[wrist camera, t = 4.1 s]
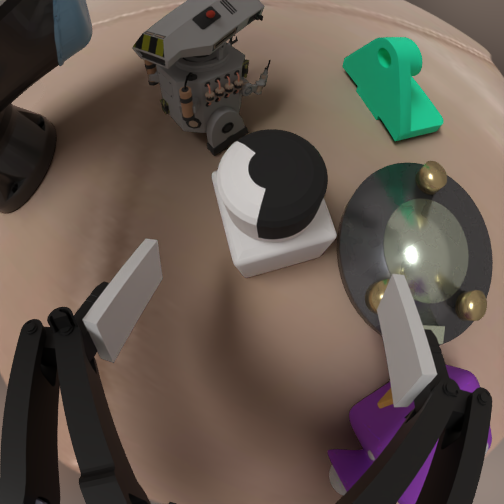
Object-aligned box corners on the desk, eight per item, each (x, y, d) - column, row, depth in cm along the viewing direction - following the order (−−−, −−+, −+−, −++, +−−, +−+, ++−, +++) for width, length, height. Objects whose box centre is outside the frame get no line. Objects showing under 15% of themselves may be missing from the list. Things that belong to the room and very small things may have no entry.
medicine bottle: (297, 185, 27) (312, 104, 15) (321, 257, 26) (360, 213, 14) (224, 205, 27) (193, 133, 15) (243, 279, 26) (221, 252, 14)
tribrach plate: (325, 339, 24) (333, 343, 21) (341, 154, 27) (349, 135, 24) (478, 346, 22) (498, 348, 19) (478, 189, 26) (495, 177, 22)
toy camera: (298, 437, 22) (310, 495, 13) (410, 340, 24) (473, 350, 14) (358, 493, 20) (386, 549, 11) (456, 407, 21) (514, 432, 12)
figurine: (290, 109, 29) (296, -6, 14) (202, 166, 28) (152, 56, 13) (240, 69, 31) (225, -32, 16) (161, 117, 30) (109, 20, 15)
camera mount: (437, 135, 28) (477, 84, 18) (391, 146, 28) (429, 87, 18) (387, 66, 30) (407, 12, 20) (340, 72, 30) (355, 10, 20)
